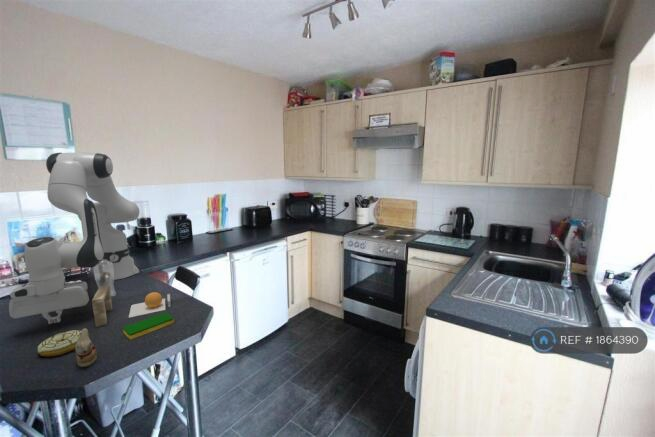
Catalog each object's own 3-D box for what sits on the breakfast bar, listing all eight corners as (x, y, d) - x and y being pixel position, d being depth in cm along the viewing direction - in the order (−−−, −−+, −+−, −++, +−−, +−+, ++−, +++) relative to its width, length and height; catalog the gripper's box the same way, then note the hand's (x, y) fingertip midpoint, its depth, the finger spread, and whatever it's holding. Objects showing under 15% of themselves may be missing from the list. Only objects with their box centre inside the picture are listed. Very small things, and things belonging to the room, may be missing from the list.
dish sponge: (123, 333, 99) (122, 327, 99) (166, 317, 110) (166, 311, 109) (130, 341, 95) (129, 334, 94) (174, 324, 105) (174, 317, 105)
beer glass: (106, 299, 125) (101, 266, 123) (93, 298, 127) (88, 265, 124) (121, 293, 132) (116, 261, 130) (108, 292, 134) (103, 260, 131)
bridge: (95, 326, 103) (91, 300, 102) (103, 309, 116) (99, 286, 115) (106, 324, 105) (102, 298, 103) (112, 307, 118) (109, 284, 116)
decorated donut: (50, 343, 94) (48, 332, 94) (90, 336, 98) (89, 325, 97) (31, 362, 85) (29, 350, 84) (77, 353, 88) (75, 342, 88)
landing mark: (131, 305, 120) (131, 305, 120) (165, 298, 125) (165, 298, 125) (128, 317, 109) (128, 317, 109) (165, 310, 115) (165, 309, 115)
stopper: (167, 300, 124) (167, 294, 124) (170, 299, 125) (169, 293, 124) (168, 307, 117) (167, 301, 117) (171, 306, 118) (170, 300, 117)
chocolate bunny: (67, 370, 80) (61, 336, 79) (85, 353, 88) (79, 322, 86) (90, 367, 81) (84, 334, 80) (105, 351, 89) (101, 320, 87)
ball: (166, 297, 122) (153, 308, 120) (155, 287, 120) (142, 298, 118) (165, 301, 117) (151, 312, 115) (153, 291, 115) (139, 302, 113)
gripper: (88, 276, 109) (93, 311, 111) (11, 288, 99) (19, 326, 101) (84, 281, 104) (90, 318, 106) (2, 294, 94) (11, 334, 96)
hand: (54, 322), depth 104 cm, fingers closed
